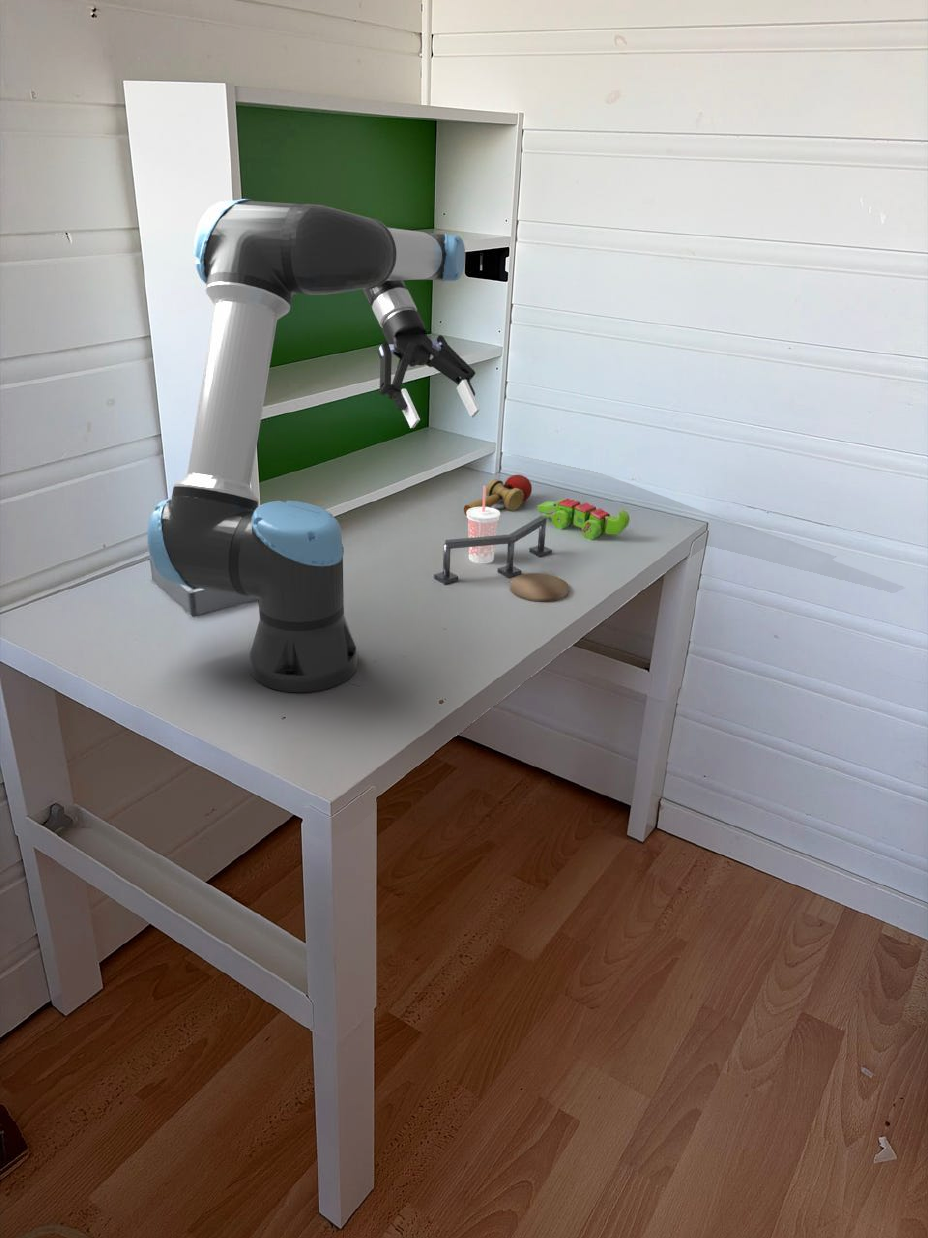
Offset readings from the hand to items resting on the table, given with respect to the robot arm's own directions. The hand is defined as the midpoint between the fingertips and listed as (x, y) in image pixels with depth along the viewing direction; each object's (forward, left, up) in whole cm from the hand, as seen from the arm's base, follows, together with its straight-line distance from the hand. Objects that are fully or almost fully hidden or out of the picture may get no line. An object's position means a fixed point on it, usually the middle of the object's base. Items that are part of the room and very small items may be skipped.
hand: (446, 418), depth 171 cm
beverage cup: (0, -12, -23) cm, 26 cm away
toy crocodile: (+26, -11, -23) cm, 37 cm away
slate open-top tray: (-46, +3, -23) cm, 52 cm away
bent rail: (0, -18, -23) cm, 29 cm away
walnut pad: (0, -28, -23) cm, 37 cm away
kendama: (+19, +7, -23) cm, 31 cm away
